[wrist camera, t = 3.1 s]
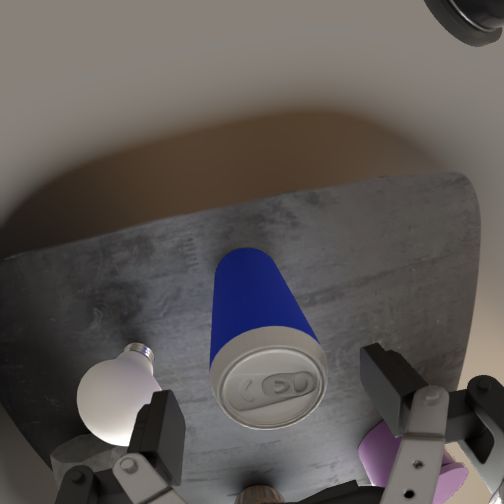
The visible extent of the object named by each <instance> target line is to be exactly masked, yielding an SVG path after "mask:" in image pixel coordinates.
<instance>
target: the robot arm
mask: <svg viewBox="0 0 504 504" xmlns="http://www.w3.org/2000/svg"><path fill="white" fill-rule="evenodd" d="M447 1H448V3H449V4H450V5H451V7H452V8H453V9H454V11H455V12H456V13H457V14H458V15H459V16H460V17H461V18H462V19H463V20H464V21H465V22H466V23H468V24H469V25H470V26H472V27H473V28H475V29H477V30H479V31H481V32H491V31H494V30H496V29H497V28H500V27H502V26H504V0H447ZM360 373H361V381H362V385H363V387H364V389H365V391H366V392H367V394H368V395H369V397H370V399H371V400H372V402H373V403H374V405H375V406H376V408H377V410H378V411H379V413H380V414H381V416H382V417H383V419H384V421H385V422H386V424H387V425H388V427H389V429H390V430H391V432H392V433H393V435H394V436H395V438H397V437H399V436H402V435H403V436H402V439H401V443H400V446H399V449H398V453H397V456H396V459H395V462H394V465H393V468H392V471H391V474H390V477H389V480H388V482H387V485H386V488H385V487H380V486H358V484H357V482H356V480H352V481H349V482H346V483H343V484H340V485H336V486H333V487H329V488H326V489H324V490H322V491H320V492H318V493H316V494H314V495H312V496H310V497H308V498H306V499H304V500H301V501H299V502H287V503H269V502H265V503H259V504H432V503H433V499H434V495H435V491H436V487H437V482H438V478H439V473H440V468H441V463H442V458H443V452H444V446H445V444H447V443H452V442H458V444H459V445H460V447H461V448H462V450H463V451H464V453H465V454H466V455H467V457H468V458H469V460H470V461H471V463H472V464H473V466H474V467H475V469H476V470H477V472H478V474H479V475H480V477H481V478H482V479H483V481H484V483H485V484H486V486H487V487H488V489H489V490H490V492H491V494H492V495H493V496H492V497H491V499H490V501H489V504H504V387H503V386H502V385H501V384H500V383H499V382H498V381H497V380H496V379H495V378H493V377H491V376H487V375H479V376H476V377H474V378H472V379H471V380H470V381H469V383H468V386H467V389H463V390H459V391H454V392H447V391H446V390H445V389H444V388H442V387H439V386H434V385H429V384H428V383H427V382H426V381H425V380H424V379H423V378H422V377H421V376H420V374H419V373H418V372H417V371H416V370H415V369H414V368H412V366H411V365H410V364H409V363H408V362H407V360H406V359H405V358H404V357H403V356H402V355H401V354H399V353H397V352H395V351H393V350H389V351H385V350H384V349H383V348H382V347H381V346H380V344H379V343H374V344H371V345H368V346H365V347H361V348H360ZM135 421H136V423H135V424H134V427H133V428H134V430H133V431H132V435H131V438H130V442H129V446H128V449H127V453H126V454H124V455H122V456H120V457H119V458H118V459H117V460H116V461H115V462H114V464H113V467H112V468H110V469H107V470H103V471H98V472H93V471H92V469H91V468H89V467H88V466H85V465H77V466H74V467H72V468H70V469H69V470H68V471H67V472H66V473H65V474H64V476H63V479H62V482H61V486H60V489H59V492H58V495H57V498H56V502H55V504H188V503H187V502H186V501H185V500H184V499H183V498H182V497H181V496H180V495H179V494H178V493H177V492H176V491H175V490H174V489H173V488H172V487H179V486H181V474H182V462H183V450H184V439H185V428H186V427H185V420H184V416H183V414H182V412H181V409H180V407H179V405H178V403H177V400H176V398H175V396H174V393H173V392H172V390H163V391H155V392H153V395H152V398H151V402H150V404H144V405H143V407H142V408H141V409H140V410H139V411H138V413H137V417H136V420H135Z"/></svg>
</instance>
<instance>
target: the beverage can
mask: <svg viewBox="0 0 504 504" xmlns="http://www.w3.org/2000/svg"><path fill="white" fill-rule="evenodd" d="M327 379H328V364H327V358H326V355H325V352H324V351H323V349H322V347H321V345H320V343H319V341H318V340H317V338H316V336H315V334H314V332H313V331H312V329H311V327H310V325H309V323H308V322H307V320H306V318H305V316H304V314H303V313H302V311H301V309H300V307H299V305H298V304H297V302H296V300H295V298H294V296H293V295H292V293H291V291H290V289H289V288H288V286H287V284H286V282H285V280H284V279H283V277H282V275H281V273H280V272H279V270H278V268H277V266H276V264H275V263H274V261H273V260H272V259H271V257H270V256H268V255H267V254H266V253H264V252H263V251H260V250H258V249H254V248H241V249H237V250H234V251H232V252H230V253H229V254H227V255H226V256H225V257H224V258H223V259H222V260H221V261H220V263H219V264H218V267H217V269H216V272H215V281H214V297H213V312H212V330H211V348H210V369H209V382H210V387H211V390H212V393H213V395H214V397H215V399H216V401H217V402H218V404H219V406H220V408H221V409H222V411H223V412H224V413H225V414H226V415H227V416H228V417H229V418H230V419H231V420H233V421H234V422H236V423H238V424H240V425H242V426H245V427H248V428H252V429H258V430H273V429H280V428H284V427H287V426H290V425H293V424H295V423H297V422H299V421H301V420H303V419H304V418H306V417H307V416H308V415H310V414H311V413H312V412H313V411H314V410H315V409H316V408H317V407H318V405H319V404H320V402H321V401H322V399H323V397H324V395H325V391H326V388H327Z"/></svg>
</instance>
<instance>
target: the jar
mask: <svg viewBox="0 0 504 504" xmlns="http://www.w3.org/2000/svg"><path fill="white" fill-rule="evenodd" d="M402 436H403V435H402ZM402 436H399V437H397V438H395V436H394V435H393V433H392V432H391V430H390V429H389V427H388V425H387V424H386V422H385V421H383V422H381V423H380V424H378V425H377V426H376V427H374V428H373V429H372V430H371V431H370V432H369V433H368V434H367V435H366V436H365V437H364V439H363V440H362V442H361V443H360V445H359V448H358V455H359V458H360V460H361V462H362V464H363V466H364V469H365V471H366V473H367V475H368V477H369V479H370V482H371V484H372V486H380V487H385V488H386V485H387V482H388V480H389V477H390V474H391V471H392V468H393V465H394V462H395V459H396V456H397V453H398V449H399V446H400V443H401V439H402ZM468 473H469V471H468V469H467V467H466V466H465V465H464V464H463V463H461V462H457V461H456V460H455V459H454V457H453V456H452V454H451V453H450V452H449V451H448V449H447V448H446V446H444V452H443V458H442V463H441V468H440V473H439V478H438V482H437V487H436V491H435V495H434V499H433V503H432V504H442V503H444V502H445V501H446V500H448V499H449V498H450V497H451V496H452V495H453V494H454V493H455V492H456V491H457V490H458V489H459V488H460V487H461V486H462V485H463V483H464V482H465V480H466V478H467V476H468Z"/></svg>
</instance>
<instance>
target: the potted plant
mask: <svg viewBox="0 0 504 504" xmlns="http://www.w3.org/2000/svg"><path fill="white" fill-rule="evenodd" d="M127 449H128V446H119V445H114V444H110V443H108V442H105V441H103V440H102V439H100V438H98V437H97V436H96V435H94V434H93V433H90V434H85V435H81V436H77V437H75V438H73V439H71V440H69V441H67V442H65V443H63V444H61V445H59V446H57V447H56V449H55V450H54V451H53V453H52V454H51V455H50V458H51V463H52V468H53V472H54V476H55V480H56V482H57V485H58V488H59V489H60V486H61V482H62V479H63V476H64V474H65V473H66V472H67V471H68V470H69V469H70V468H72V467H74V466H77V465H85V466H88V467H89V468H91V469H92V471H93V472H98V471H103V470H107V469H110V468H112V467H113V464H114V462H115V461H116V460H117V459H118V458H119V457H120V456H122V455H124V454H126V453H127Z"/></svg>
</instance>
